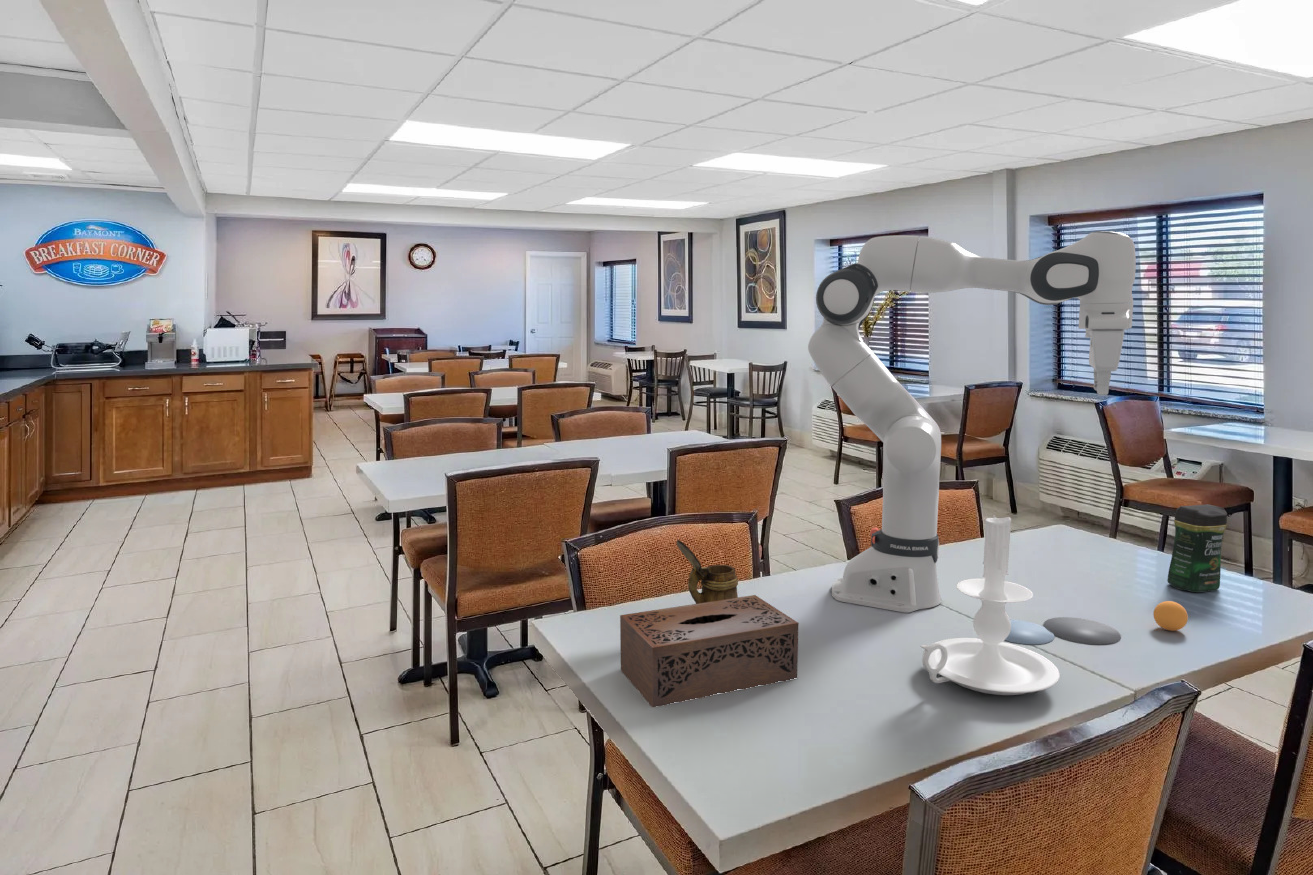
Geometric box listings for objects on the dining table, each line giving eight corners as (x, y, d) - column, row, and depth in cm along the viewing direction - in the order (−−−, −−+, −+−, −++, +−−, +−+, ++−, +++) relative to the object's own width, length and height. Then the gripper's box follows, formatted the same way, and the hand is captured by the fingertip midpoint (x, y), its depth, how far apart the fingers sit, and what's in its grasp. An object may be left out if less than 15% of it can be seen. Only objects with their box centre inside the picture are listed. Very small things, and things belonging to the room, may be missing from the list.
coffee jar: (1192, 595, 171) (1201, 510, 168) (1160, 583, 179) (1168, 502, 176) (1227, 591, 174) (1236, 507, 171) (1194, 580, 181) (1202, 499, 178)
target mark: (1048, 639, 148) (1048, 638, 148) (1039, 615, 160) (1039, 614, 160) (1128, 648, 144) (1128, 647, 144) (1112, 622, 156) (1112, 621, 156)
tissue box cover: (652, 709, 123) (652, 647, 121) (620, 671, 136) (620, 615, 134) (797, 680, 132) (798, 622, 131) (754, 647, 146) (755, 594, 144)
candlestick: (876, 671, 135) (883, 509, 131) (986, 647, 145) (995, 495, 141) (969, 728, 116) (980, 541, 112) (1088, 695, 126) (1102, 522, 122)
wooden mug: (667, 623, 157) (667, 533, 154) (729, 613, 162) (730, 526, 159) (686, 639, 148) (686, 545, 146) (750, 629, 153) (751, 537, 151)
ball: (1156, 633, 151) (1159, 605, 150) (1148, 622, 156) (1151, 595, 155) (1190, 636, 149) (1193, 608, 148) (1181, 626, 154) (1184, 598, 154)
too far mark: (987, 639, 148) (987, 638, 148) (982, 616, 159) (982, 616, 159) (1059, 648, 144) (1059, 647, 144) (1049, 623, 155) (1049, 623, 155)
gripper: (1083, 319, 162) (1079, 387, 164) (1089, 320, 144) (1084, 396, 146) (1119, 319, 159) (1114, 388, 161) (1129, 319, 141) (1124, 397, 143)
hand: (1100, 392), depth 153 cm, fingers open, 8 cm apart
